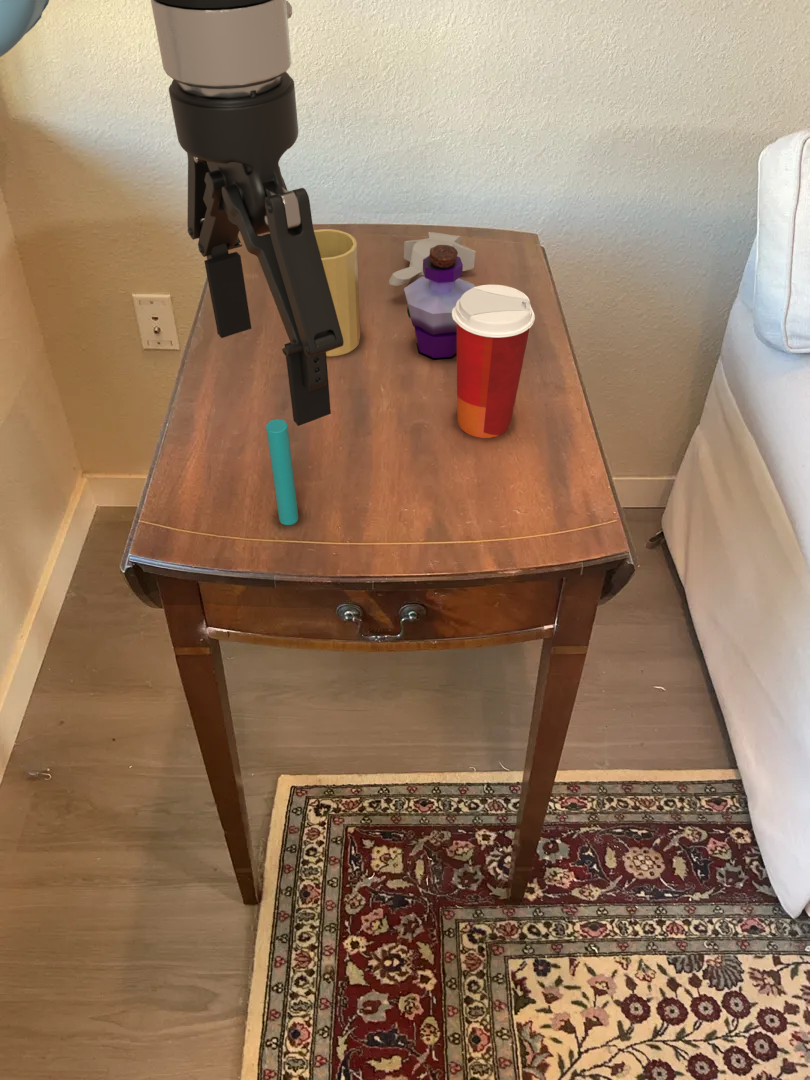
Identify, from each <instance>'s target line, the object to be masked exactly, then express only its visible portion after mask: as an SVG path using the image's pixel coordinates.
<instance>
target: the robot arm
mask: <svg viewBox="0 0 810 1080" xmlns="http://www.w3.org/2000/svg"><path fill="white" fill-rule="evenodd" d="M49 2H50V0H0V58H1V57H3V56H4V55H6V54H7V53H8V52H10V51H11V50H12V49H13V48H14V47H15V46H16V45H17V44H18V43H19V42H20V41H21V40H22V39H23V38H24V37H25V35H26V34H27V33H29V32H30V31H31V30H32V29H33V28H34V27H35V26H36V24H38V22H39V21H40V20H41V18H42V15H43V13H44V11H45V10H46V8H47V7H48V5H49ZM150 4H151V9H152V14H153V20H154V27H155V31H156V37H157V42H158V47H159V53H160V58H161V63H162V69H163V70H164V73H165V74H166V75H167V76H168V77H169V78H171V79H172V81H171V84H169V86H168V95H169V99H170V104H171V109H172V110H171V111H172V115H173V121H174V125H175V126H174V127H175V131H176V137H177V141H178V143H179V146H180V147H181V148H182V150H184V151H185V153H186V154H187V233H188V235H189V236H190V238H191V240H197V239H198V241H197V242H198V243H197V246H198V251H199V253H200V254H201V256H202V257H203V258H205V257H206V259H205V260H204V267H205V273H206V278H207V281H208V282H207V283H208V288H209V293H210V300H211V304H212V310H213V315H214V321H215V326H216V331H217V332H216V333H217V335H218V336H219V337H220V338H221V339H223V338H227V337H230V336H233V335H236V334H239V333H242V332H245V331H248V330H251V329H252V323H251V316H250V309H249V302H248V296H247V290H246V282H245V277H244V270H243V263H242V257H241V255H240V253H239V252H237V251H234V252H230V253H229V251H230V250H234V249H237V248H240V247H243V244H241V243H242V242H241V239H240V237H239V233H240V235H241V238H242V240H243V243H244V246H245V248H246V250H247V252H248V253H249V254H251V255H254V256H256V257H257V259H258V262H259V264H260V266H261V270H262V273H263V275H264V278H265V280H266V283H267V285H268V288H269V291H270V293H271V296H272V298H273V300H274V304H275V306H276V309H277V311H278V314H279V316H280V319H281V322H282V324H283V327H284V329H285V333H286V334H287V337H288V340H289V342H287V343H285V344H284V347H283V348H281V351H282V353H283V355H284V356H285V361H286V370H287V378H288V386H289V394H290V403H291V410H292V411H291V412H292V420H293V422H294V423H295V424H296V425H297V426H298V427H300V426H302V425H305V424H308V423H310V422H313V421H316V420H318V419H321V418H324V417H327V416H329V415H331V414H332V412H331V410H332V409H331V397H330V386H329V375H328V371H329V370H328V360H327V356H326V352H327V351H330V350H333V349H336V348H339V347H341V346H343V344H344V341H343V336H342V333H341V329H340V325H339V322H338V318H337V314H336V311H335V307H334V303H333V300H332V296H331V292H330V289H329V285H328V281H327V278H326V274H325V270H324V267H323V263H322V259H321V255H320V252H319V248H318V244H317V241H316V237H315V233H314V230H315V229H314V225H313V216H312V209H311V202H310V197H309V194H308V191H307V189H305V188H304V187H300V188H295V189H292V190H288V187H287V185H286V182H285V179H284V177H283V176H282V172H281V167H280V165H279V164H280V163H279V162H280V160H281V158H282V157H283V155H284V154H285V153H286V152H287V151H288V150H290V149H291V148H292V147H293V146H294V145H295V143H296V142H297V139H298V137H299V122H298V109H297V99H296V87H295V81H294V79H293V78H292V76H290V74H289V73H288V72H287V71H288V70H289V69H290V68H291V65H292V52H291V41H290V39H291V38H290V29H289V27H290V26H289V19H291V18H292V15H293V6H292V4H291V3H290V2H289V0H150Z"/></svg>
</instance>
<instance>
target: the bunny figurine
mask: <svg viewBox="0 0 810 1080" xmlns="http://www.w3.org/2000/svg"><path fill="white" fill-rule="evenodd" d="M437 245H449V246H452V247H454V248H455V249H456V250H457V252H458V254H457V256H458V257H460V259H461V261H462V264H463V270H462V272H464V271H469V270H474V269H475V265H476V264H475V263H476V254H477V251H476V250H474V249H472V248H470V247H467V246H465V245H463V238H462V236H461V235H455V234H450V233H449V234H448V233H442V232H435V231H428V234H427V237H425V238H421V239H420V238H419V239H410V240H406V241H403V259H404V260H406V261H408V262H409V266H408V267H404V268H402V269H399V270H397V271H395V272H392V274H391V275H390V279H389V280H388V284H389V285H391V286H395V287H396V286H403V285H405V284H406V283H408V282H410V283H413V282H414V281H416V280H417V279H419V278H420V277H425V276H424V273H423V259H425V258H426V257H428V256H429V255H430V249H431V248H433V247H435V246H437Z"/></svg>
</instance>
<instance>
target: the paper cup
mask: <svg viewBox="0 0 810 1080" xmlns="http://www.w3.org/2000/svg"><path fill="white" fill-rule="evenodd" d="M452 317H453V320H454V321H455V322H456V323H457V356H456V415H457V416H456V417H457V418H456V419H457V424H458V427H459V428H460V429H461V430H462V431H463V432H464V433H466V434H467V435H469V436H472V437H475V438H480V439H490V438H496V437H499V436H502V435H503V434H505V433H506V432H507V431H508V430H509V428H510V426H511V422H512V417H513V415H514V414H513V413H514V409H515V404H516V399H517V394H518V389H519V385H520V384H519V383H520V378H521V375H522V368H523V365H524V359H525V353H526V348H527V345H528V344H527V343H528V338H529V334H530V329H531V327H532V326H533V325H534V323H535V319H536V315H535V312H534V310H533V308H532V305H531V300H530V298H529V297H528V295H526V294H525V293H524V292H523V291H521V290H519V289H518V288H515V287H511V286H508V285H502V284H483V285H477V286H475V287H474V288H472V289H470V290H468V291H467V292H465V293H464V294H463V295H462V297H461V298H460V299H459V300H458V301H457V303H456V306H455V307H454V308H453V310H452Z"/></svg>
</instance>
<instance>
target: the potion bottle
mask: <svg viewBox="0 0 810 1080" xmlns="http://www.w3.org/2000/svg"><path fill="white" fill-rule="evenodd" d="M457 254H458V252H457V250H456V249H455V248H454V247H452V246H449V245H437V246H435V247H433V248H431V249H430V255H429V256H428V257H426V258H425V259H423V273H424V276H425V277H420V278H419V279H417V280H416V281H414V282H413V283H412V282H410V284H409V285H406V287H404V288H403V291H404V295H405V300H406V304H407V305H406V306H407V307H406V309H407V310H406V312H407V317H408V318H409V319H410V321H411V324H412V325H411V326H412V327H413V328H414V333H415V338H416V343H415V345H416V349H417V353H418V355H421V356H423V357H425V358H427V359H429V360H431V361H442V360H443V361H444V360H453V359H455V357H457V323H456V322H455V321H454V320H453V317H452V310H453V308H454V307H455V306H456V303H457V301H458V300H459V299H460V298H461V297H462V295H463V294H464V293H465V292H467V291H468V290H470V289H472V288H474V287H476V285H475V284H474V283H473V282H470V281H467V280H465V279H462V278H461V277H463V271H462V270H463V264H462V261H461V259H460V257H458V256H457Z"/></svg>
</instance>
